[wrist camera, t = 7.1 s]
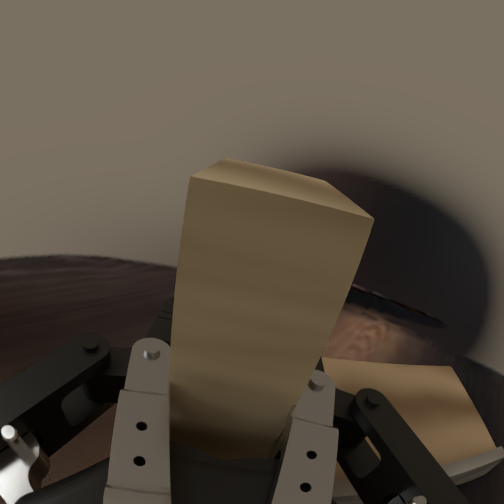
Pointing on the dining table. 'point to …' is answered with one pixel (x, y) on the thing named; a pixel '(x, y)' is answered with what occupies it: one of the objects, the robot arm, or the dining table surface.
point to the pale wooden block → (255, 301)
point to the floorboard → (422, 416)
